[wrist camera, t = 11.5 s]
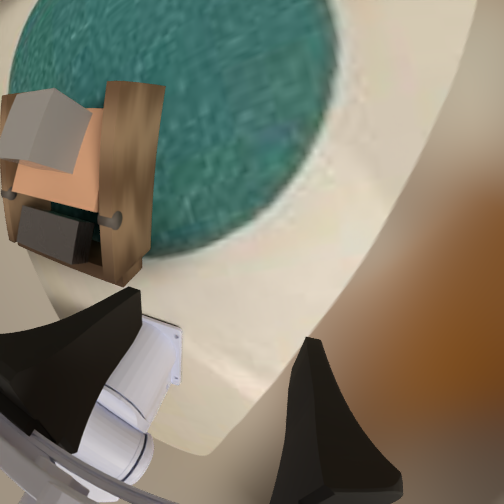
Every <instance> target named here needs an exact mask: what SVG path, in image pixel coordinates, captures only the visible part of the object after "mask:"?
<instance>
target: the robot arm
mask: <svg viewBox="0 0 504 504" xmlns="http://www.w3.org/2000/svg"><path fill="white" fill-rule="evenodd" d="M177 335H178V336H177ZM181 353H182V330H181V329H180V328H179V327H176V326H173V325H170V324H167V323H164V322H161V321H158V320H155V319H152V318H149V317H147V316H144V315H142V310H141V291H140V290H138V289H135V288H132V287H127V288H125V289H123V290H121V291H119V292H117V293H115V294H113V295H111V296H110V297H108V298H106V299H104V300H102V301H100V302H98V303H96V304H95V305H93V306H91V307H89V308H87V309H84V310H82V311H80V312H78V313H76V314H74V315H72V316H69V317H67V318H65V319H62V320H59V321H57V322H54V323H51V324H48V325H45V326H41V327H37V328H34V329H30V330H25V331H20V332H14V333H6V334H0V468H1V470H2V471H3V472H4V473H5V474H6V475H8V476H9V477H10V478H11V479H12V480H13V481H14V482H15V483H16V484H17V485H18V486H20V487H21V488H22V489H23V490H24V491H25V493H24V495H23V496H22V498H21V500H20V502H19V503H18V504H99V503H98V502H116V501H118V499H119V498H120V499H123V500H125V501H127V502H129V503H132V504H178V503H175V502H172V501H169V500H166V499H164V498H161V497H158V496H155V495H153V494H150V493H148V492H145V491H143V490H140V489H138V488H136V487H133V486H131V485H133V484H134V483H136V482H137V481H138V480H139V479H140V478H141V477H142V475H143V474H144V473H145V471H146V469H147V467H148V466H149V464H150V461H151V459H152V456H153V452H154V443H153V438H152V435H151V434H149V433H148V432H147V431H148V429H149V427H150V424H151V422H152V421H153V420H154V418H155V416H156V414H157V412H158V410H159V408H160V406H161V404H162V401H163V399H164V397H165V395H166V393H167V391H168V389H169V387H170V385H171V383H172V384H175V385H180V383H181ZM402 496H403V482H402V476H401V473H400V471H399V470H397V468H395V467H394V466H393V465H392V464H391V463H390V462H389V461H388V460H387V459H386V458H385V457H384V456H383V455H382V454H381V452H380V451H379V450H378V449H377V448H376V447H375V445H374V444H373V443H372V442H371V440H370V439H369V438H368V436H367V435H366V434H365V432H364V431H363V430H362V428H361V427H360V425H359V424H358V422H357V421H356V419H355V417H354V416H353V414H352V412H351V411H350V409H349V407H348V405H347V403H346V401H345V399H344V397H343V395H342V393H341V392H340V389H339V387H338V385H337V382H336V380H335V377H334V375H333V373H332V370H331V368H330V365H329V362H328V360H327V357H326V354H325V351H324V348H323V345H322V342H321V340H319V339H314V338H310V337H306V338H305V340H304V343H303V345H302V347H301V349H300V352H299V354H298V356H297V359H296V361H295V363H294V365H293V367H292V372H291V377H290V383H289V388H288V403H287V419H286V433H285V441H284V447H283V451H282V457H281V461H280V466H279V470H278V474H277V479H276V482H275V486H274V490H273V494H272V497H271V501H270V504H391V503H393V502H395V501H397V500H399V499H400V498H401V497H402Z"/></svg>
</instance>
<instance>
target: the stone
mask: <svg viewBox="0 0 504 504" xmlns="http://www.w3.org/2000/svg"><path fill="white" fill-rule="evenodd" d="M92 114H93V113H92V112H90V111H89V110H87V109H86V108H84V107H83V106H81V105H80V104H78V103H76V102H75V101H73V100H72V99H70V98H69V97H67V96H66V95H64V94H63V93H61V92H60V91H58V90H57V89H55V88H52V89H45V90H38V91H32V92H26V93H21V94H17V95H16V97H15V100H14V102H13V105H12V107H11V110H10V112H9V115H8V117H7V120H6V123H5V126H4V128H3V131H2V134H1V137H0V159H3V160H7V161H11V162H14V163H18V164H21V165H25V166H28V167H32V168H35V169H42V170H49V171H55V172H61V173H68V174H73V171H74V167H75V164H76V160H77V157H78V154H79V151H80V147H81V144H82V141H83V138H84V135H85V133H86V130H87V127H88V124H89V121H90V119H91V116H92Z"/></svg>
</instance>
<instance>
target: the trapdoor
mask: <svg viewBox="0 0 504 504" xmlns="http://www.w3.org/2000/svg"><path fill="white" fill-rule="evenodd" d="M86 109H87V110H89V111H90V112H92V113H93V114H92V116H91V119H90V121H89V124H88V127H87V130H86V133H85V135H84V138H83V141H82V144H81V147H80V151H79V154H78V157H77V160H76V164H75V167H74V171H73V174H68V173H61V172H55V171H49V170H42V169H35V168H32V167H28V166H25V165H21V164H18V167H17V171H16V175H15V179H14V183H13V188H12V191H13V192H17V193H21V194H25V195H29V196H33V197H37V198H41V199H45V200H49V201H52V202H56V203H60V204H64V205H68V206H72V207H76V208H80V209H84V210H88V211H92V212H98V213H99V164H100V144H101V130H102V119H103V110H104V108H86ZM94 225H95V223H93V222H89V221H85V220H82V219H78V218H75V217H71V216H67V215H64V214H60V213H57V212H53V211H50V210H46V209H43V208H39V207H33V206H25V205H22V210H21V216H20V222H19V228H18V235H17V242H19V243H21V244H23V245H25V246H28V247H30V248H32V249H35V250H37V251H39V252H42V253H44V254H46V255H49V256H51V257H54V258H56V259H59V260H61V261H63V262H66V263H69V264H71V265H74V264H82V263H88V258H89V252H90V246H91V240H92V235H93V230H94Z"/></svg>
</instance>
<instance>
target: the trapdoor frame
mask: <svg viewBox="0 0 504 504" xmlns="http://www.w3.org/2000/svg"><path fill="white" fill-rule="evenodd" d="M165 87H166V86H161V85H154V84H146V83H137V82H128V81H107V86H106V93H105V101H104V110H103V119H102V130H101V144H100V164H99V214H98V219H97V221H98V224H99V226H100V239H101V242H97V241H94V240H91V246H90V252H89V258H88V263H82V264H74V265H71V264H69V263H66V262H63V261H61V260H59V259H56V258H54V257H51V256H49V255H46V254H44V253H42V252H39V251H37V250H35V249H32V248H30V247H28V246H25V245H23V244H21V243H19V242H18V245H19V246H21V247H23V248H26V249H28V250H30V251H32V252H35V253H37V254H39V255H41V256H44V257H46V258H48V259H51V260H53V261H56V262H58V263H60V264H63V265H65V266H68V267H70V268H73V269H75V270H78V271H80V272H83V273H86V274H88V275H91V276H93V277H96V278H99V279H101V280H104V281H107V282H110V283H112V284H115V285H118V286H121V287H124V286H125V285H126V284H127V283H128V282H129V281H130V280H131V279H132V278H133V277H134V276H135V275H136V274H137V273H138V272H139V271H140V270H141V268H142V257H143V256H144V255H145V254H146V253H147V252H148V251H149V250H150V249H151V220H152V201H153V186H154V174H155V163H156V153H157V143H158V135H159V127H160V120H161V112H162V106H163V99H164V93H165ZM24 93H26V92H24ZM17 94H21V93H15V94H8V95H3V96H2V101H1V116H0V137H1V134H2V131H3V128H4V126H5V123H6V120H7V117H8V115H9V112H10V110H11V107H12V105H13V102H14V100H15V97H16V95H17ZM17 167H18V163H14V162H11V161H7V160H3V159H0V169H1V183H2V190H1V195H2V197H3V203H4V211H5V218H6V224H7V230H8V236H9V240H10V241H12V242H14V243H15V242H17V235H18V228H19V222H20V216H21V210H22V205H25V206H33V207H39V208H43V209H46V210H50V211H51V201H49V200H45V199H41V198H37V197H33V196H29V195H25V194H21V193H17V192H13V191H12V188H13V183H14V179H15V175H16V171H17Z"/></svg>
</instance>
